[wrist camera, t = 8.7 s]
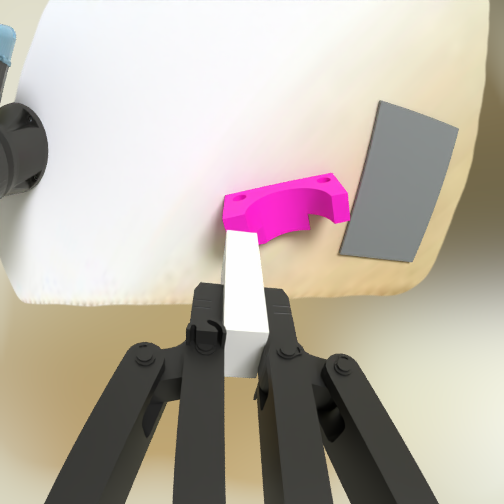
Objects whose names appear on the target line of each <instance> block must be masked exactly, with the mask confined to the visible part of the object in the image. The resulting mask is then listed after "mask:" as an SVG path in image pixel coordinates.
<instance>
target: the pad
mask: <svg viewBox="0 0 504 504" xmlns="http://www.w3.org/2000/svg"><path fill="white" fill-rule="evenodd" d="M458 130H459V129H458V128H456V127H453V126H451V125H449V124H446V123H444V122H441V121H439V120H436V119H433V118H431V117H428V116H425V115H423V114H420V113H417V112H414V111H411V110H409V109H406V108H403V107H400V106H397V105H393V104H390V103H387V102H384V101H379V106H378V111H377V115H376V120H375V124H374V128H373V133H372V137H371V141H370V145H369V149H368V153H367V157H366V161H365V165H364V169H363V173H362V176H361V180H360V184H359V187H358V191H357V195H356V198H355V202H354V205H353V208H352V212H351V215H350V221H349V222H348V225H347V229H346V232H345V235H344V238H343V242H342V245H341V248H340V251H339V253H340V254H342V255H351V256H360V257H369V258H379V259H388V260H397V261H406V262H413V260H414V257H415V255H416V253H417V250H418V248H419V246H420V243H421V241H422V238H423V236H424V233H425V231H426V228H427V226H428V223H429V221H430V218H431V215H432V213H433V210H434V207H435V205H436V202H437V199H438V196H439V193H440V190H441V187H442V184H443V181H444V178H445V175H446V172H447V169H448V166H449V162H450V159H451V156H452V152H453V149H454V145H455V141H456V138H457V134H458Z"/></svg>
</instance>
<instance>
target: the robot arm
mask: <svg viewBox="0 0 504 504" xmlns="http://www.w3.org/2000/svg"><path fill="white" fill-rule="evenodd" d="M15 41H16V33H15V31H14V29H13V28H12V27H10V26H6V25H3V24H0V102H1V97H2V92H3V88H4V83H5V80H6V76H7V72H8V68H9V67H10V66H11V62H10V60H11V56H12V52H13V48H14V44H15ZM30 115H31V116H32V117H33V120H32V121H31V122H30V120H29V118H30ZM47 161H48V142H47V136H46V132H45V129H44V127H43V125H42V123H41V121H40V119H39V117H38V116H37V115H36V114H35V112H34V111H33V110H31V109H30V108H29V107H27V106H25V105H23V104H20V103H14V102H13V103H10V104H7V105H4V106H2V107H1V108H0V199H1V198H2V197H4V196H7V195H12V194H18V193H23V192H26V191H28V190H30V189H32V188H33V187H34V186H35V185H37V183H38V182H39V181H40V180H41V178H42V176H43V174H44V172H45V169H46V165H47ZM34 175H36V176H37V180H36V179H35V178H34ZM257 373H258V379H259V382H258V386H257V388H256V391H255V394H254V400H256V399H257V404H258V420H259V434H260V449H261V463H262V477H263V491H264V504H333V499H332V494H331V488H330V481H329V476H328V470H327V464H326V459H325V453H324V447H325V450H326V452H327V454H328V456H329V458H330V460H331V462H332V465H333V467H334V469H335V471H336V473H337V475H338V477H339V479H340V482H341V484H342V486H343V488H344V490H345V492H346V494H347V496H348V499H349V501H350V503H351V504H439V503H438V501H437V499H436V498H435V496H434V494H433V492H432V491H431V489H430V487H429V485H428V483H427V481H426V479H425V478H424V476H423V474H422V473H421V471H420V469H419V467H418V465H417V463H416V462H415V460H414V458H413V457H412V455H411V453H410V451H409V450H408V448H407V446H406V444H405V442H404V441H403V439H402V437H401V435H400V434H399V432H398V430H397V429H396V427H395V425H394V423H393V422H392V420H391V419H390V417H389V415H388V413H387V412H386V410H385V408H384V407H383V405H382V403H381V402H380V400H379V398H378V396H377V395H376V393H375V391H374V390H373V388H372V387H371V385H370V383H369V381H368V380H367V378H366V376H365V375H364V373H363V372H362V370H361V368H360V367H359V365H358V363H357V362H356V361H355V360H354V359H353V358H351V357H350V356H348V355H345V354H334V355H332V356H330V357H329V358H328V359H327V360H326V359H322V358H319V357H315V356H313V355H310V354H308V353H307V352H305V351H304V349H303V347H302V346H301V345H300V344H299V343H298V342H297V337H296V332H295V327H294V322H293V318H292V315H291V308H290V303H289V298H288V296H287V295H286V293H285V292H284V291H283V290H282V289H276V288H264V286H263V278H262V270H261V261H260V253H259V245H258V237H257V233H250V232H241V231H232V230H227V233H226V241H225V249H224V257H223V265H222V273H221V284H212V283H202V282H200V284H199V285H198V286H197V287H196V288H195V290H194V297H193V304H192V311H191V319H190V323H189V324H188V326H187V328H186V340H185V341H184V342H183V343H182V344H180V345H178V346H176V347H173V348H168V349H160V347H159V346H157V345H155V344H153V343H148V342H142V343H137V344H135V345H133V346H132V347H131V348H130V349H129V350H128V351H127V352H126V354H125V356H124V357H123V359H122V361H121V362H120V364H119V366H118V367H117V369H116V371H115V372H114V374H113V376H112V378H111V379H110V381H109V383H108V385H107V386H106V388H105V390H104V392H103V393H102V395H101V397H100V399H99V400H98V402H97V404H96V405H95V407H94V409H93V411H92V413H91V415H90V416H89V418H88V420H87V422H86V423H85V425H84V427H83V429H82V431H81V433H80V434H79V436H78V438H77V440H76V442H75V444H74V446H73V448H72V450H71V451H70V453H69V455H68V457H67V459H66V461H65V463H64V465H63V467H62V469H61V471H60V473H59V475H58V477H57V479H56V481H55V483H54V485H53V487H52V489H51V491H50V493H49V495H48V497H47V499H46V501H45V503H44V504H125V502H126V499H127V497H128V495H129V492H130V490H131V487H132V485H133V482H134V480H135V478H136V475H137V473H138V470H139V468H140V465H141V463H142V461H143V458H144V456H145V453H146V451H147V449H148V446H149V444H150V442H151V439H152V437H153V435H154V432H155V430H156V427H157V425H158V423H159V420H160V418H161V416H162V413H163V411H164V409H165V406H166V404H167V402H169V401H174V400H180V405H179V416H178V428H177V440H176V453H175V468H174V485H173V504H226V497H225V441H224V439H225V438H224V376H226V377H243V378H256V376H257ZM323 445H324V447H323Z"/></svg>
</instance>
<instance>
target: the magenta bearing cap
mask: <svg viewBox="0 0 504 504" xmlns="http://www.w3.org/2000/svg"><path fill="white" fill-rule="evenodd" d="M308 214H315V215H320V216H323V217H326V218H328V219H330V220H331V221H332V222H333V223H334V224H336V223H341V222H346V221H350V212H349V201H348V193H347V191H346V190H345V189H344V187H343V186H342V185H341V184H340V182H339V181H338V180H337V178H336V177H335V176H334V175H333V173H328V174H323V175H318V176H313V177H308V178H303V179H298V180H293V181H288V182H283V183H278V184H274V185H269V186H264V187H260V188H255V189H251V190H247V191H242V192H238V193H234V194H229V195H225V201H224V209H223V217H222V220H223V223H224V227H225V230H226V233H227V230H232V231H241V232H250V233H257V237H258V245H260V244H265V243H267V242H268V241H270V240H271V239H273V238H275V237H277V236H279V235H282V234H284V233H288V232H292V231H298V230H310V224H309V218H308Z"/></svg>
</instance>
